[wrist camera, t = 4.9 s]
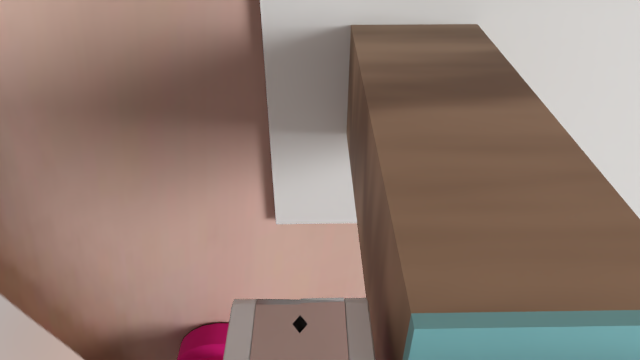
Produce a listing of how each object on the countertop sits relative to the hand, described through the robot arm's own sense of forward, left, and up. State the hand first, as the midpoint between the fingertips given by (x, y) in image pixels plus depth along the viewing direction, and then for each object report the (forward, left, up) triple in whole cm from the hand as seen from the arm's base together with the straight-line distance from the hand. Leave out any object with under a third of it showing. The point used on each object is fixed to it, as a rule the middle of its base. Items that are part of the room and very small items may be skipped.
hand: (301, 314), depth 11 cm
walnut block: (0, +4, -12) cm, 13 cm away
